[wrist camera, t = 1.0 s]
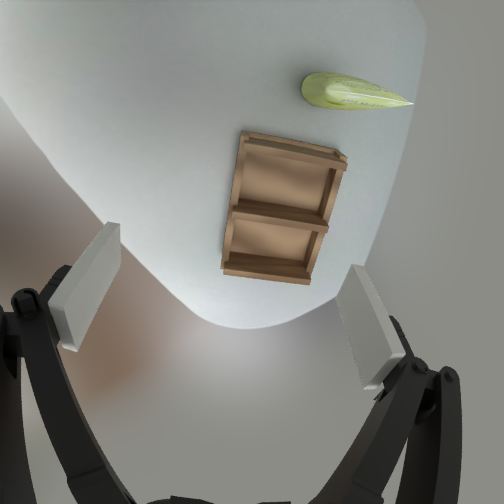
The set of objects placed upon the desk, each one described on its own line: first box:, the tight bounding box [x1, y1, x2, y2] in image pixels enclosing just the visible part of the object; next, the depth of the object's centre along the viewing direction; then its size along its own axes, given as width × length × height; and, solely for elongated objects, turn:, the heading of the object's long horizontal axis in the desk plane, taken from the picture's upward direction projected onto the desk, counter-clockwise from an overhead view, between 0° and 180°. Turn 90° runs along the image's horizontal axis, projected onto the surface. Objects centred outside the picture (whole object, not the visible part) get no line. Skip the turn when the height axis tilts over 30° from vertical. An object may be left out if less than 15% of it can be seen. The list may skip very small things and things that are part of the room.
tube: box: [301, 73, 413, 110], centre depth 27 cm, size 6×5×20 cm
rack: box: [220, 131, 348, 285], centre depth 41 cm, size 20×14×6 cm
